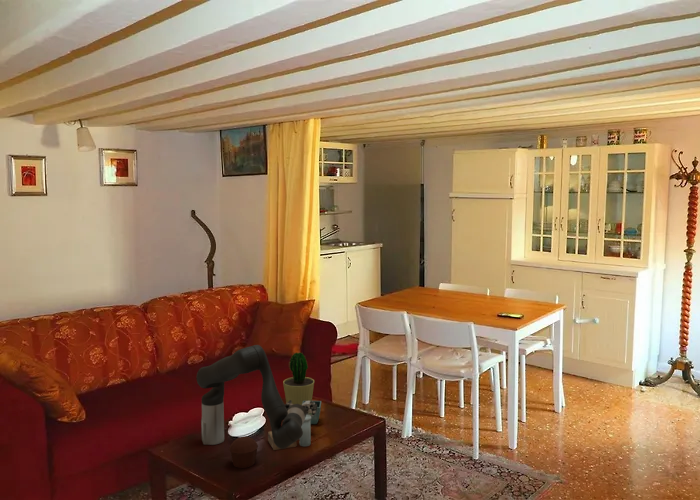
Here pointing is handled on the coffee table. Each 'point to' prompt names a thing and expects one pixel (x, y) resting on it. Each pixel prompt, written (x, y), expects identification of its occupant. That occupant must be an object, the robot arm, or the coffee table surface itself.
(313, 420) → the flower pot
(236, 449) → the muffin
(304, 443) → the vase
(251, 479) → the coffee table surface
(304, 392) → the potted cactus
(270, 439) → the plinth
